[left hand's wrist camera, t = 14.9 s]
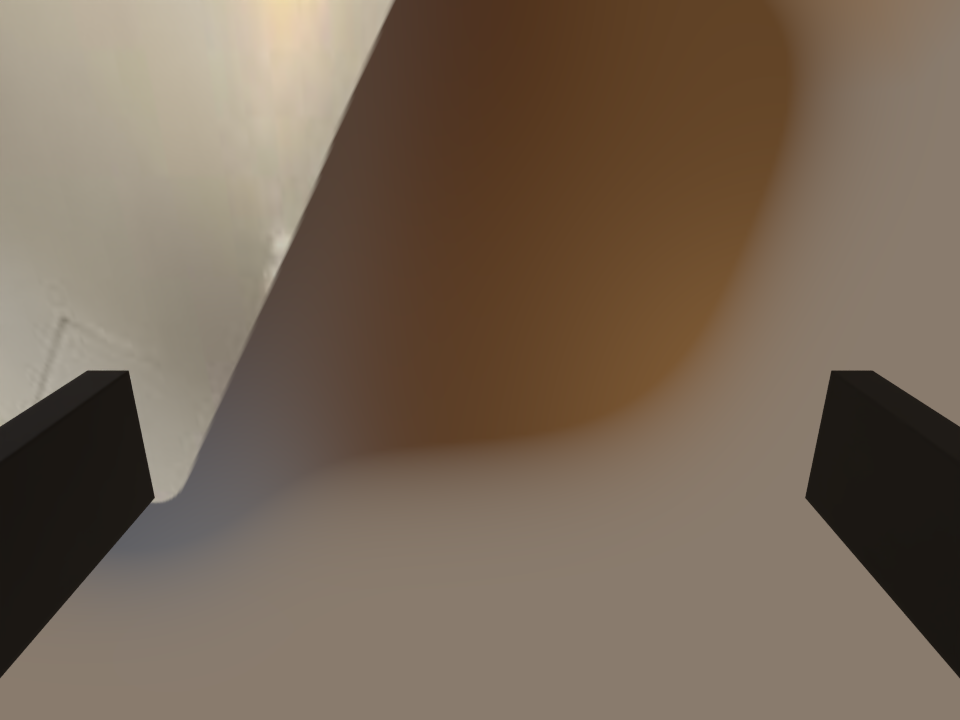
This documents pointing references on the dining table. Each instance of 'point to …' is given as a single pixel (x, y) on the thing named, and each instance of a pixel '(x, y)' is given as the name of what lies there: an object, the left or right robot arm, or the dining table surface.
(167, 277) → the dining table surface
